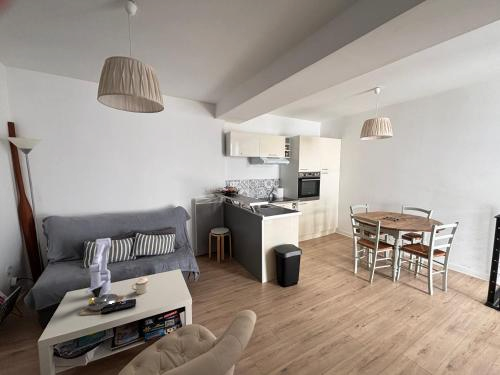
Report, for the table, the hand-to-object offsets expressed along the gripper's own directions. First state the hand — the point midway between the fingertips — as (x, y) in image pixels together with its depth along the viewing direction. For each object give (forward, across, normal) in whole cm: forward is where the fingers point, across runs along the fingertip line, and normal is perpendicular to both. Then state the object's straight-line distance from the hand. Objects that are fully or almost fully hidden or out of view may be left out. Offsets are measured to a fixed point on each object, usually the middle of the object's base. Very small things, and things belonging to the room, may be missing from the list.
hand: (96, 297), depth 154 cm
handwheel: (+4, +1, +7) cm, 8 cm away
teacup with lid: (+5, -19, +22) cm, 29 cm away
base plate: (+5, +1, +7) cm, 9 cm away
